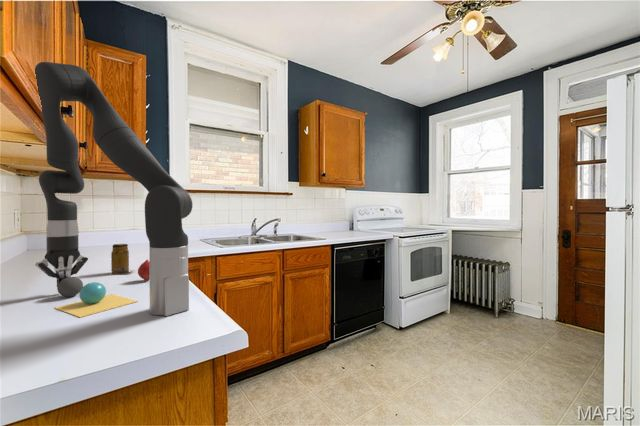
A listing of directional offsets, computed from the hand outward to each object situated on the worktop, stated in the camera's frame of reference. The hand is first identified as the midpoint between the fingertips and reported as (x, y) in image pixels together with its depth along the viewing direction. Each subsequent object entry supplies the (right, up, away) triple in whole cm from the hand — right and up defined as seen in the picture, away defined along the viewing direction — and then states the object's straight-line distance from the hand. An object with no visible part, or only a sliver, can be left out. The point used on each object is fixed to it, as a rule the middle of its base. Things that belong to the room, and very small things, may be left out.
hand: (63, 289), depth 91 cm
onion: (+16, -2, +17) cm, 24 cm away
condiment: (-2, -1, +30) cm, 30 cm away
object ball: (+16, +1, -9) cm, 19 cm away
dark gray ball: (+4, +1, -2) cm, 5 cm away
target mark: (+18, -2, -10) cm, 21 cm away
